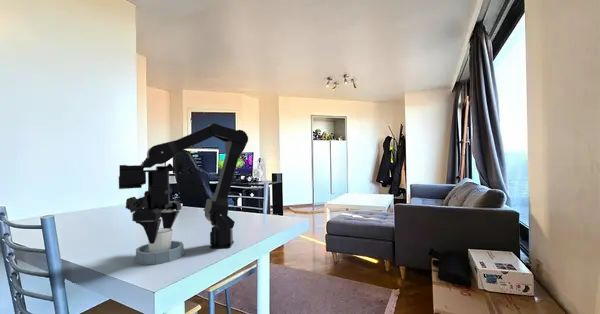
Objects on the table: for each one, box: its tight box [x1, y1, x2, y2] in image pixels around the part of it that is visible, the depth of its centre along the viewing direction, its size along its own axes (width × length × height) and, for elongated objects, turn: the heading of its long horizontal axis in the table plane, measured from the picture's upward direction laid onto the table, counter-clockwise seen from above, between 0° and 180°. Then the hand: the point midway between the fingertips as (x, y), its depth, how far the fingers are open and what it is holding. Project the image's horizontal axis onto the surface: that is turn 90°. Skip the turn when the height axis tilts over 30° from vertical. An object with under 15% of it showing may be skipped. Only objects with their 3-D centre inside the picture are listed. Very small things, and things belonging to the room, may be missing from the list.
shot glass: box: [147, 228, 173, 253], centre depth 87 cm, size 7×7×7 cm
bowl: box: [135, 240, 185, 265], centre depth 87 cm, size 13×13×3 cm
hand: (159, 239), depth 87 cm, fingers open, 9 cm apart
